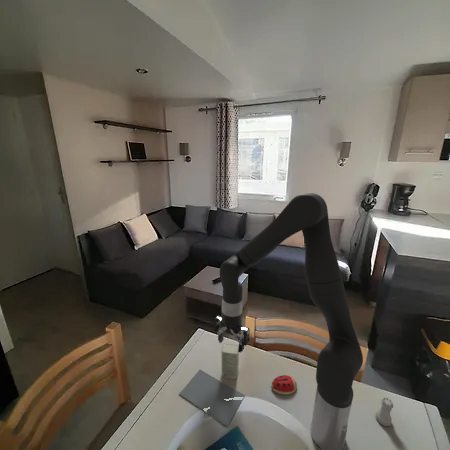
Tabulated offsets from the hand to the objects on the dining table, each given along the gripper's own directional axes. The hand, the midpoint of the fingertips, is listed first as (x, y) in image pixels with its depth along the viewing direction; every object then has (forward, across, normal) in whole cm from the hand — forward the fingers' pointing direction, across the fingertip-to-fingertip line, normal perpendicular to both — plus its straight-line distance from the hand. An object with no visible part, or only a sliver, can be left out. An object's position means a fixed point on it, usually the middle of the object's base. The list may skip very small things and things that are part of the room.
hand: (230, 346), depth 89 cm
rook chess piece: (+13, -51, -12) cm, 54 cm away
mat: (+13, +1, +11) cm, 17 cm away
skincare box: (+13, 0, 0) cm, 13 cm away
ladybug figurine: (+13, -20, -6) cm, 25 cm away
